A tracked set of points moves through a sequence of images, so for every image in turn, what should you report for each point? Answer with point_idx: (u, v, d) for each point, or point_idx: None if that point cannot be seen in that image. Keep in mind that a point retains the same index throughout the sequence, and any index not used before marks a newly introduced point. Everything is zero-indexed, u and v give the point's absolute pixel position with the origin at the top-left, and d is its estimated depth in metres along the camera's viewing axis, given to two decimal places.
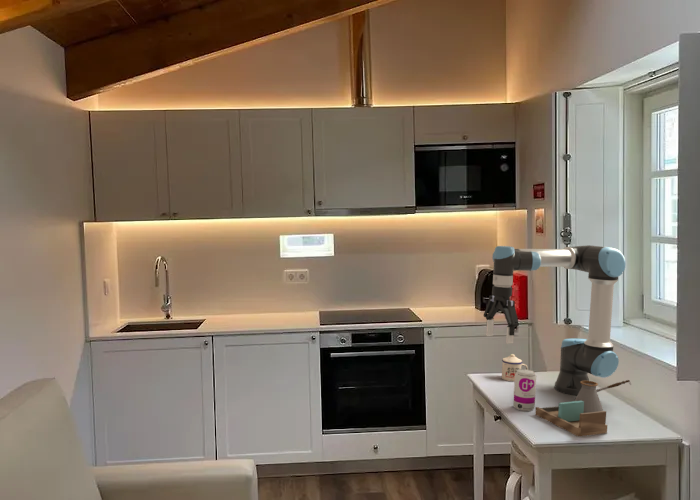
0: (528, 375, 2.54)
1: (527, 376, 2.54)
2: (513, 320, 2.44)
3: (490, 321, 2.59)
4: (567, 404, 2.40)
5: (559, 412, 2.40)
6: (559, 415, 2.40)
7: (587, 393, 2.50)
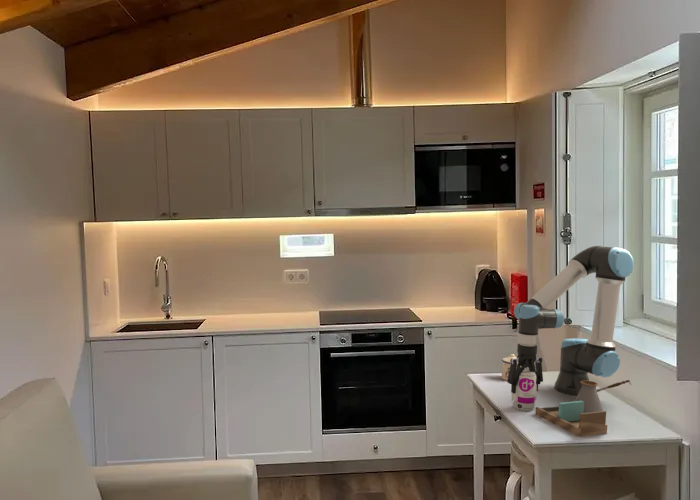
0: (528, 375, 2.54)
1: (527, 376, 2.54)
2: (508, 377, 2.56)
3: None
4: (567, 404, 2.40)
5: (559, 412, 2.40)
6: (559, 415, 2.40)
7: (587, 393, 2.50)
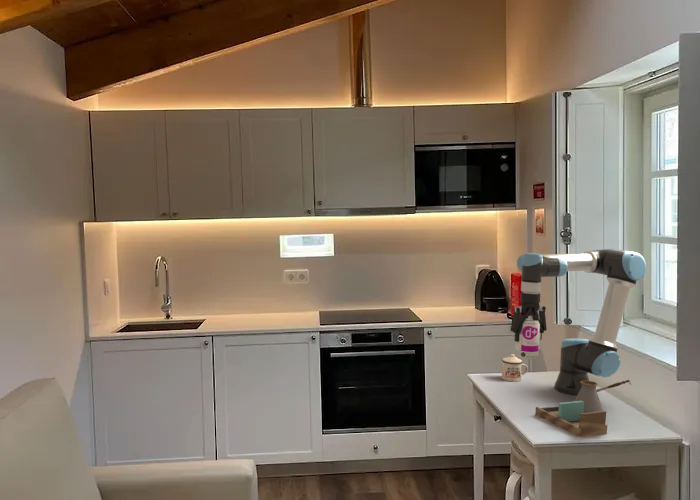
0: (531, 323, 2.52)
1: (531, 324, 2.52)
2: (511, 326, 2.54)
3: None
4: (567, 404, 2.40)
5: (559, 412, 2.40)
6: (559, 415, 2.40)
7: (587, 393, 2.50)
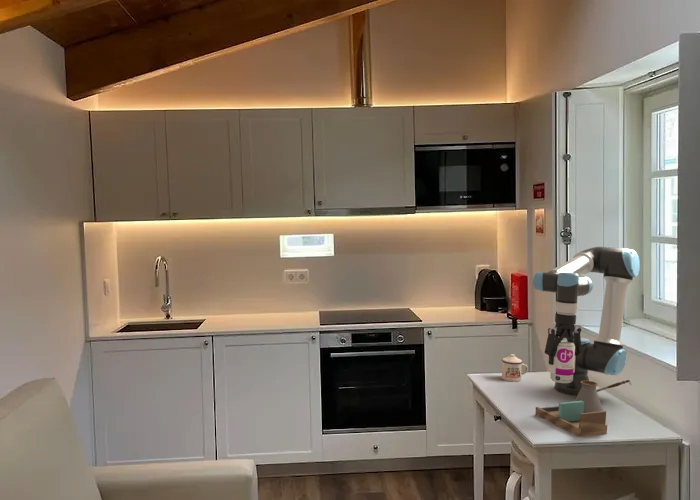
0: (567, 345, 2.42)
1: (566, 346, 2.42)
2: (546, 348, 2.44)
3: None
4: (567, 404, 2.40)
5: (559, 412, 2.40)
6: (559, 415, 2.40)
7: (587, 393, 2.50)
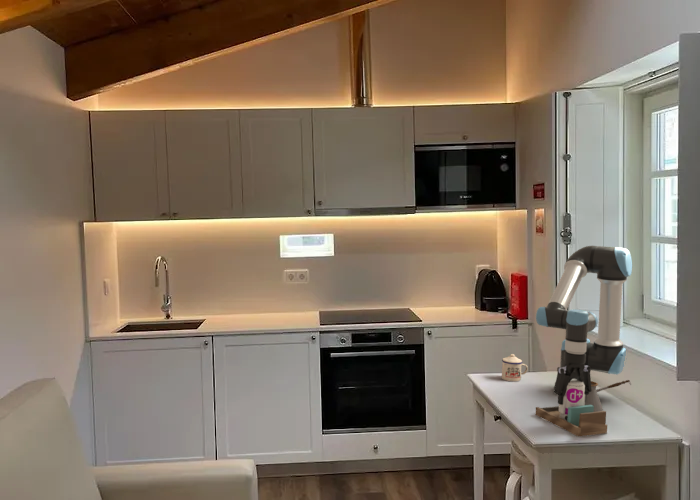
0: (576, 385, 2.37)
1: (576, 386, 2.37)
2: (555, 387, 2.39)
3: None
4: (576, 408, 2.35)
5: (568, 416, 2.35)
6: (568, 420, 2.35)
7: None
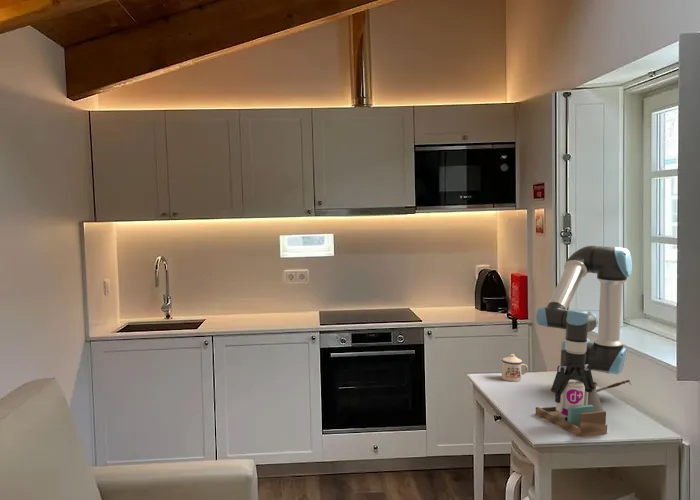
0: (577, 386, 2.37)
1: (576, 387, 2.37)
2: (553, 386, 2.38)
3: None
4: (577, 408, 2.35)
5: (568, 417, 2.35)
6: (568, 420, 2.35)
7: None
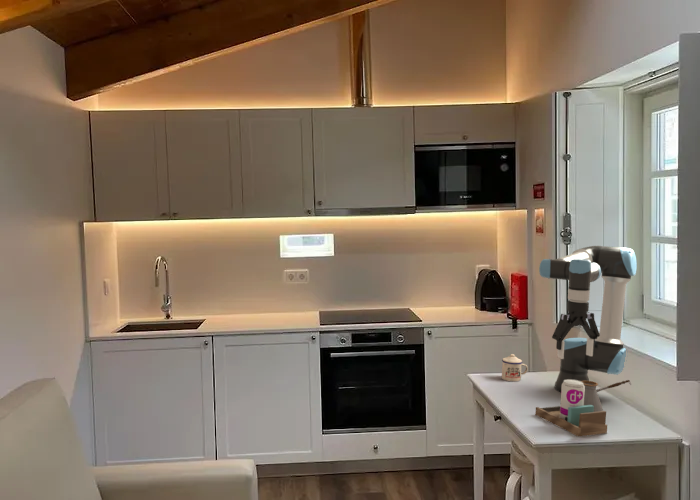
0: (576, 386, 2.37)
1: (576, 387, 2.37)
2: (554, 333, 2.38)
3: (589, 339, 2.44)
4: (577, 408, 2.35)
5: (568, 417, 2.35)
6: (568, 420, 2.35)
7: (587, 393, 2.50)
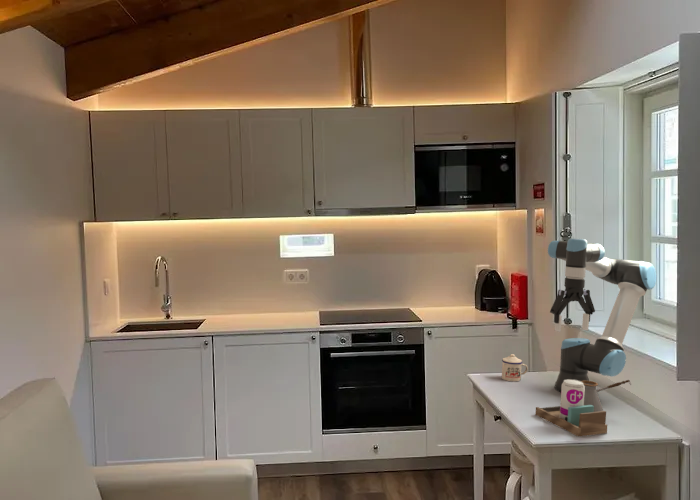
0: (576, 386, 2.37)
1: (576, 387, 2.37)
2: (552, 307, 2.54)
3: (584, 315, 2.60)
4: (577, 408, 2.35)
5: (568, 417, 2.35)
6: (568, 420, 2.35)
7: (587, 393, 2.50)
